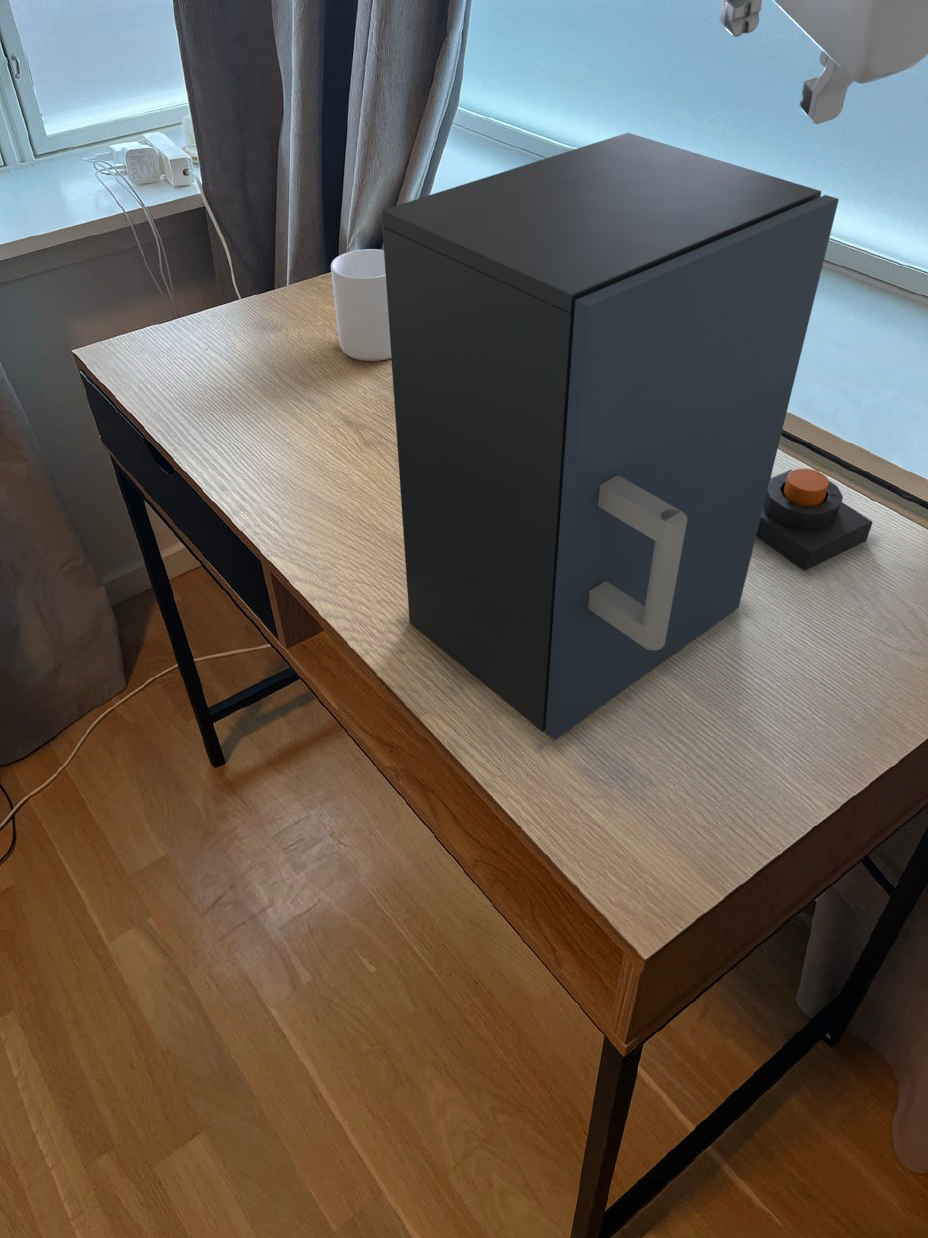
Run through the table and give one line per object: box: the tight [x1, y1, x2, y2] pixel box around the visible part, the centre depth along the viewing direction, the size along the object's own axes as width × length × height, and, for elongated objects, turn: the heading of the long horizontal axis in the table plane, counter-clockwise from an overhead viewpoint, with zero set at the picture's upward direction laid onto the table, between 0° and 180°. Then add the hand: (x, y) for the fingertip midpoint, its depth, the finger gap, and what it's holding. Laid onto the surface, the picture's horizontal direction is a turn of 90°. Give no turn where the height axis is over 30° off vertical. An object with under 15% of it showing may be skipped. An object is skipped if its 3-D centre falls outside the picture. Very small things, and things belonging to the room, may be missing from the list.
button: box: [784, 468, 830, 506], centre depth 87 cm, size 4×4×2 cm
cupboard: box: [380, 132, 822, 732], centre depth 70 cm, size 16×22×34 cm
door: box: [544, 194, 840, 741], centre depth 64 cm, size 7×22×34 cm, turn 131°
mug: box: [330, 248, 391, 362], centre depth 115 cm, size 12×8×10 cm
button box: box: [756, 469, 874, 571], centre depth 89 cm, size 10×8×4 cm
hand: (777, 69), depth 56 cm, fingers open, 8 cm apart
